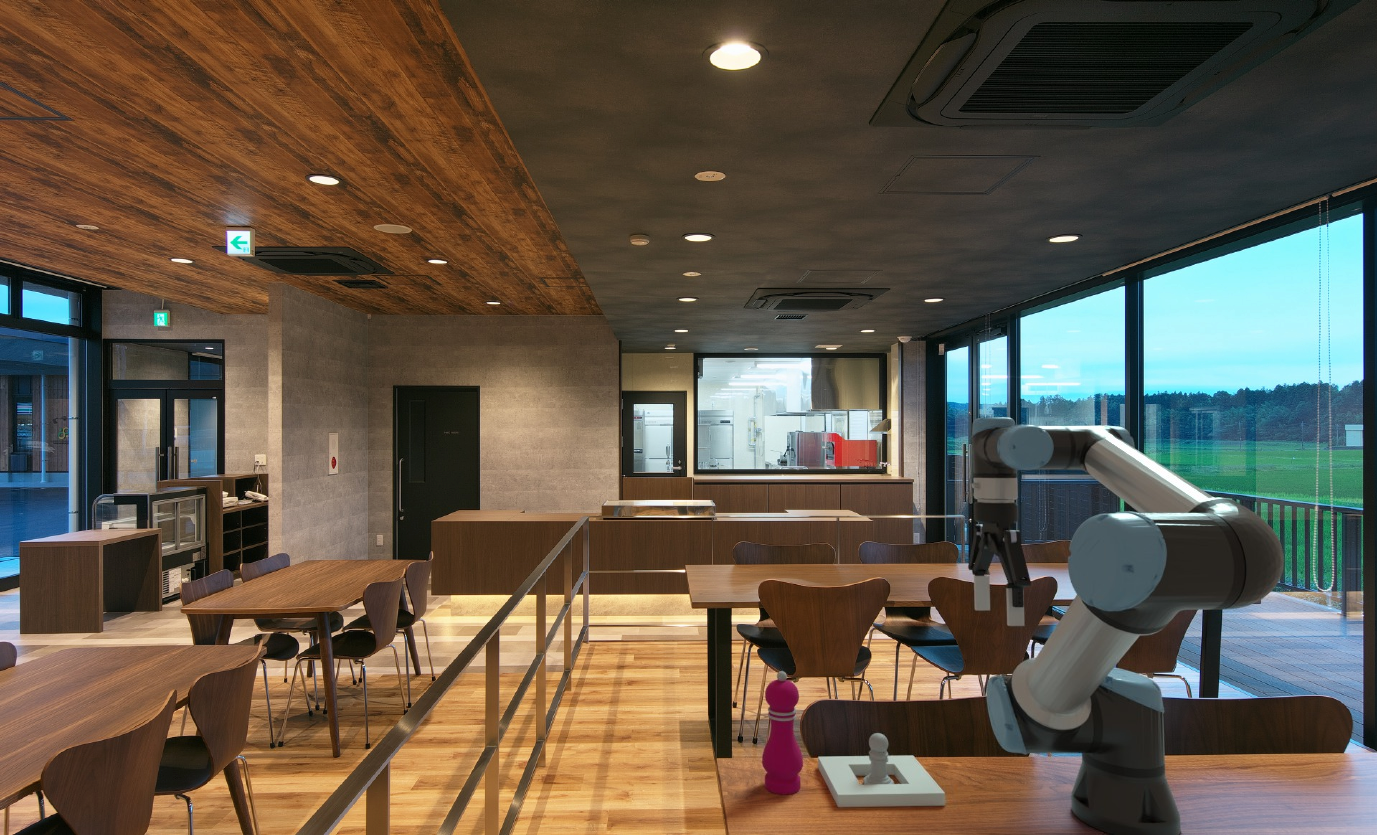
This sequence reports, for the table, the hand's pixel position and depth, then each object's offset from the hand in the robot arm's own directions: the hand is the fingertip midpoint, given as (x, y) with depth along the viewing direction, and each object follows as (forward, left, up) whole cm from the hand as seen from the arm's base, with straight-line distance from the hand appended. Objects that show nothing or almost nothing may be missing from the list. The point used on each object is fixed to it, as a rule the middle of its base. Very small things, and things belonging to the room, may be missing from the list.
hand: (998, 617), depth 136 cm
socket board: (+15, +18, -29) cm, 37 cm away
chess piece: (+15, +18, -29) cm, 37 cm away
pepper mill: (+27, +30, -29) cm, 50 cm away
